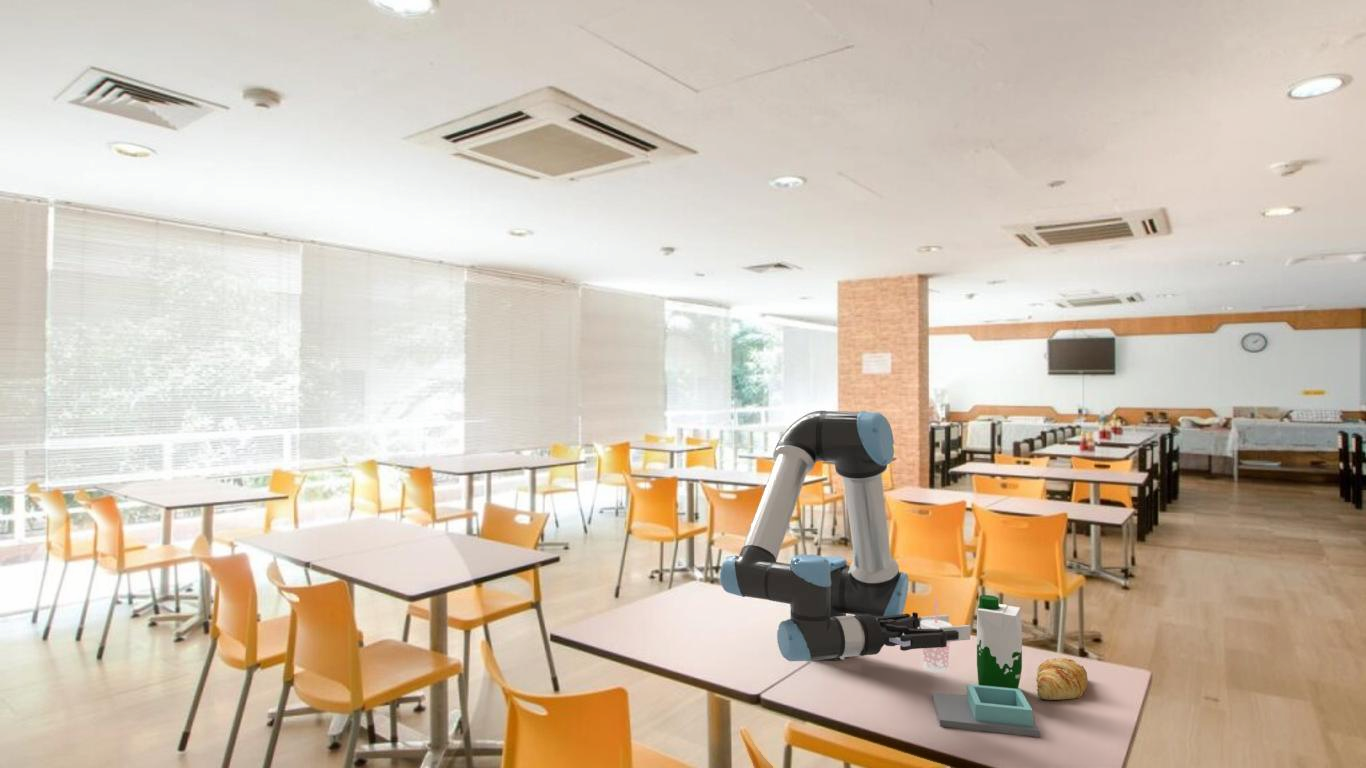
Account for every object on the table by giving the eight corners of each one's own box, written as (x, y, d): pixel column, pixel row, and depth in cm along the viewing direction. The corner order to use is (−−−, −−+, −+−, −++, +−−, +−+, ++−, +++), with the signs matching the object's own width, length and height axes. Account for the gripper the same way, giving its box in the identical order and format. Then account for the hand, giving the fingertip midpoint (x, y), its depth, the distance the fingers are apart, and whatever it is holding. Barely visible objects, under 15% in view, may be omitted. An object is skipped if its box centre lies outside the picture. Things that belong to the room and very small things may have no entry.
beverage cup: (948, 676, 139) (949, 605, 140) (916, 670, 143) (917, 600, 143) (954, 667, 145) (955, 597, 145) (923, 660, 148) (923, 593, 148)
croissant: (1055, 723, 149) (1074, 695, 147) (1012, 688, 156) (1029, 660, 153) (1092, 694, 163) (1110, 668, 161) (1051, 662, 170) (1068, 637, 167)
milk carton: (980, 678, 164) (981, 591, 164) (1024, 687, 159) (1024, 597, 160) (973, 691, 157) (974, 600, 157) (1018, 701, 152) (1019, 607, 152)
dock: (939, 726, 140) (940, 704, 140) (931, 697, 154) (931, 677, 154) (1039, 737, 136) (1039, 714, 136) (1022, 706, 149) (1022, 686, 150)
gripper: (832, 638, 148) (930, 630, 154) (881, 673, 130) (989, 662, 136) (833, 602, 148) (930, 595, 154) (882, 631, 130) (990, 622, 136)
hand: (957, 626), depth 145 cm, fingers closed on beverage cup, 6 cm apart
